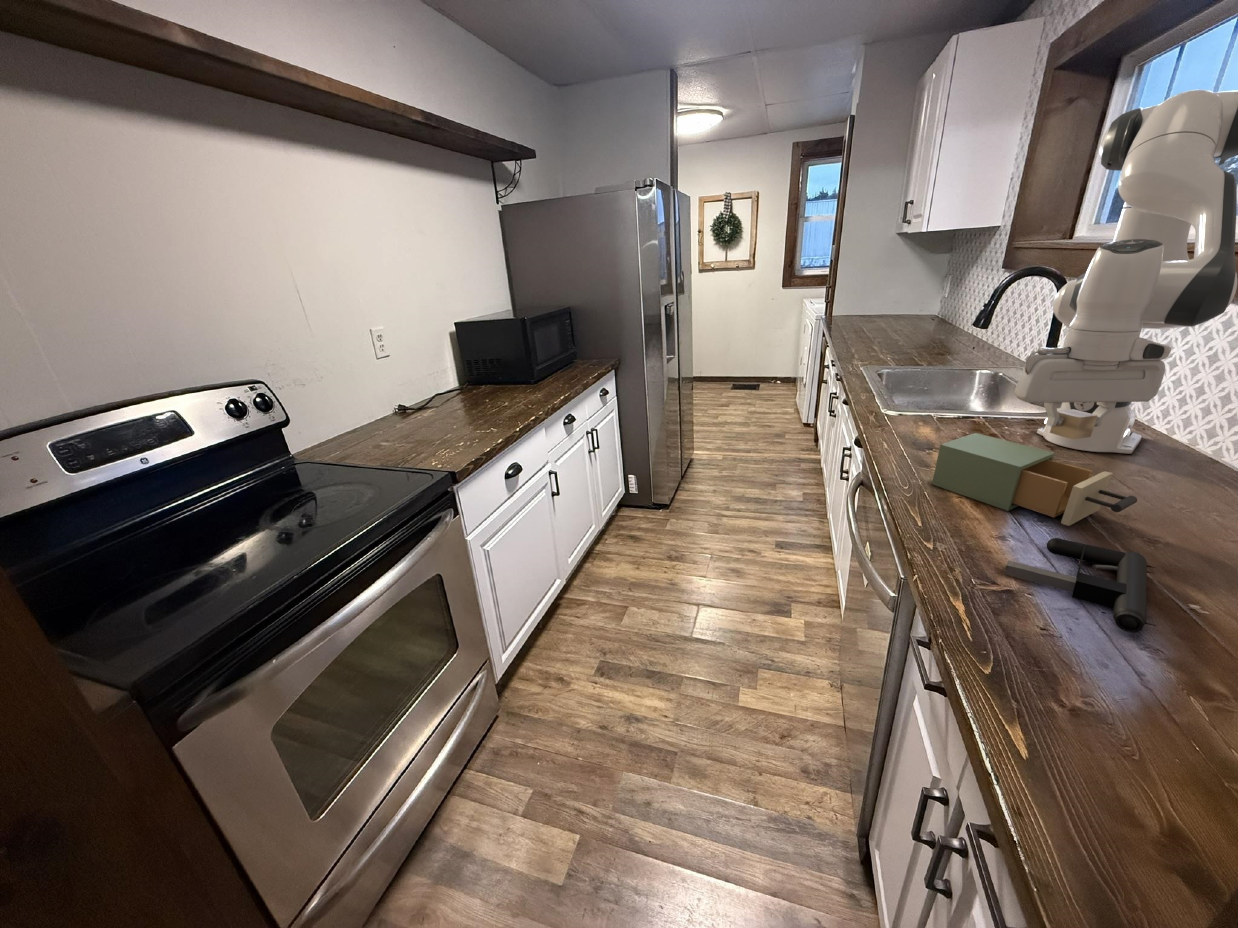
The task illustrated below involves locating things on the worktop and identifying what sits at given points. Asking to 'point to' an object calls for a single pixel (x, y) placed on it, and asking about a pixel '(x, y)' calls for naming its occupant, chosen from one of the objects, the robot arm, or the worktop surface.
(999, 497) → the cabinet
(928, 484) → the worktop surface
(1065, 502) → the drawer
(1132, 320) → the robot arm
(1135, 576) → the door handle
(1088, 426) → the block
